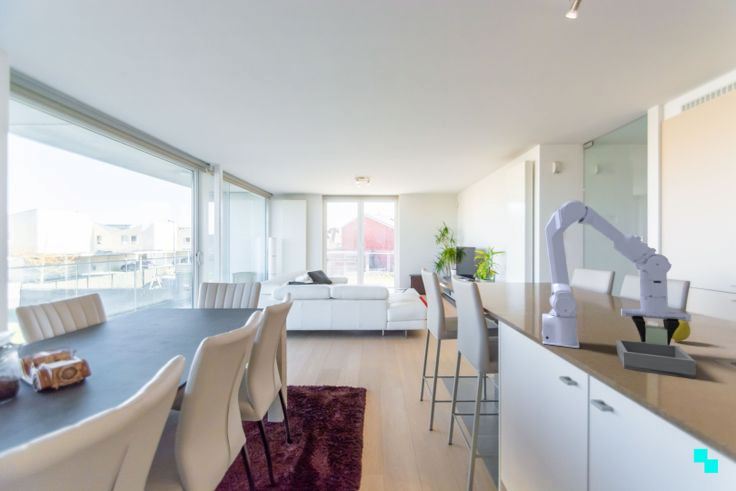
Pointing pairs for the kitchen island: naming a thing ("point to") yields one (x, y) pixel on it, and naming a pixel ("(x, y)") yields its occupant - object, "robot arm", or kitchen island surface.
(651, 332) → the block
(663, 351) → the bin
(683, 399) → the kitchen island surface
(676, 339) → the lemon
